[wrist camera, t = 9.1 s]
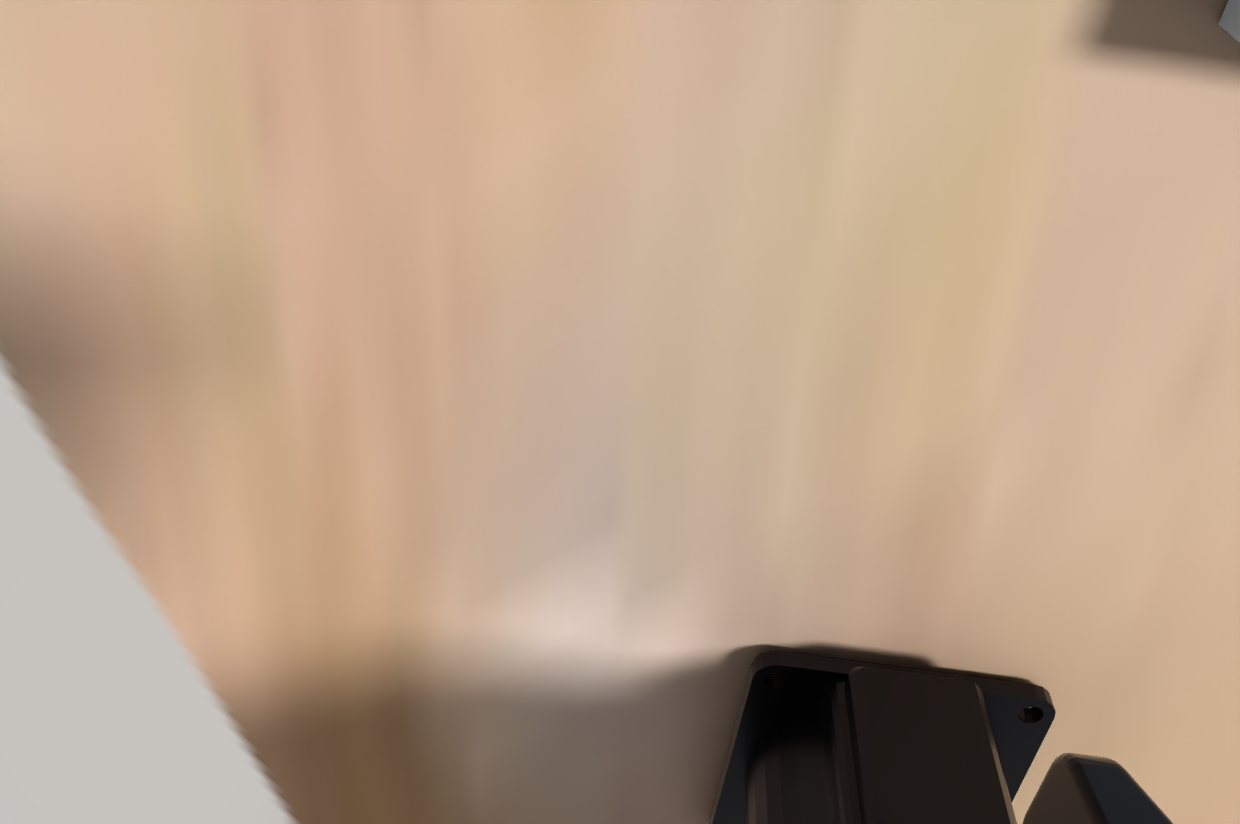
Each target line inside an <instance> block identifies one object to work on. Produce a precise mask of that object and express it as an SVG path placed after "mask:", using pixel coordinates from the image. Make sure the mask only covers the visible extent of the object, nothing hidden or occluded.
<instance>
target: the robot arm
mask: <svg viewBox="0 0 1240 824" xmlns="http://www.w3.org/2000/svg"><path fill="white" fill-rule="evenodd" d="M772 673H780V674H781V675H776V676H772V675H769V674H772ZM1028 707H1032V708H1028ZM1025 708H1026V709H1025ZM1054 717H1055V709H1054V705H1053V702H1052V699H1051V696H1050V694H1049V692H1048V691H1047V690H1046V689H1044V688H1043V687H1040V686H1037V685H1032V684H1025V683H1017V682H1010V681H1002V680H994V679H987V678H979V677H972V676H964V675H957V674H949V673H941V672H934V671H926V670H919V669H911V668H904V667H896V666H888V665H881V664H873V663H866V662H858V661H851V660H843V659H835V658H828V657H820V656H813V655H805V654H797V653H790V652H782V651H769V652H766V653H763V654H761V655H759V656H758V657H756V658H755V660H754V661H753V663H752V665H751V669H750V673H749V676H748V680H747V684H746V687H745V691H744V695H743V698H742V702H741V706H740V709H739V713H738V717H737V720H736V724H735V728H734V731H733V735H732V739H731V742H730V746H729V750H728V753H727V757H726V760H725V764H724V768H723V771H722V775H721V779H720V782H719V786H718V790H717V793H716V797H715V801H714V804H713V808H712V812H711V815H710V819H709V824H1017V822H1016V818H1015V814H1014V811H1013V807H1012V801H1013V799H1014V797H1015V795H1016V793H1017V791H1018V789H1019V787H1020V785H1021V783H1022V781H1023V779H1024V777H1025V775H1026V773H1027V771H1028V769H1029V767H1030V765H1031V763H1032V761H1033V759H1034V757H1035V755H1036V753H1037V751H1038V749H1039V747H1040V745H1041V743H1042V741H1043V739H1044V737H1045V736H1046V734H1047V732H1048V730H1049V728H1050V726H1051V724H1052V722H1053V720H1054ZM1023 824H1173V823H1172V822H1171V820H1170V819H1169V818H1168V817H1167V816H1166V815H1165V814H1164V813H1163V811H1162V810H1161V809H1160V808H1159V807H1158V806H1157V805H1156V804H1155V802H1154V801H1153V800H1152V799H1151V798H1150V797H1149V796H1148V795H1147V793H1146V792H1145V791H1144V790H1143V789H1142V788H1141V787H1140V786H1139V784H1138V783H1137V782H1136V781H1135V780H1134V779H1133V778H1132V777H1131V775H1130V774H1129V773H1128V772H1127V771H1126V770H1125V769H1124V768H1123V767H1122V766H1121V765H1120V764H1118V763H1117V762H1115V761H1114V760H1111V759H1108V758H1104V757H1097V756H1089V755H1081V754H1074V753H1064V754H1062V755H1060V756H1059V757H1057V758H1056V759H1055V760H1054V762H1053V763H1052V765H1051V767H1050V769H1049V771H1048V772H1047V774H1046V776H1045V778H1044V780H1043V782H1042V784H1041V786H1040V788H1039V790H1038V792H1037V794H1036V796H1035V797H1034V799H1033V801H1032V803H1031V805H1030V807H1029V809H1028V811H1027V813H1026V815H1025V818H1024V821H1023Z"/></svg>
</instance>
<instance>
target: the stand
mask: <svg viewBox="0 0 1240 824" xmlns="http://www.w3.org/2000/svg"><path fill="white" fill-rule="evenodd" d="M1218 25H1219V26H1220V27H1221V28H1222V29H1223V30H1225V31H1226V32H1227V33H1228V34H1229V35H1231V36H1232V37H1233V38H1234V39H1236V40H1237V41H1238V42H1239V43H1240V0H1228V2H1227V5H1226V7H1225V10H1224V12H1223V14H1222V17H1221V19H1220V22H1219V24H1218Z"/></svg>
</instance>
